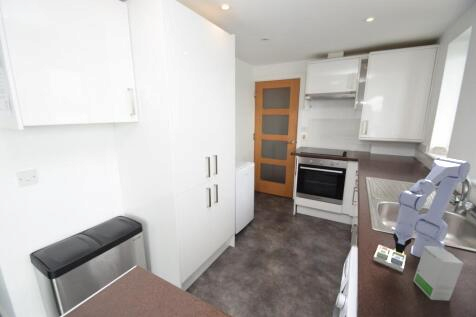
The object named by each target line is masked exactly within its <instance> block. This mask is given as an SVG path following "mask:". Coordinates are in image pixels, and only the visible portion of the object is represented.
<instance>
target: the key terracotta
mask: <svg viewBox="0 0 476 317" xmlns="http://www.w3.org/2000/svg"><path fill="white" fill-rule="evenodd" d="M380 245H381V244H380ZM380 249H383V250H385V251H388V253H389V249H391V248H389V247H387V246H384V245H383V244H382V245H381V247H380Z"/></svg>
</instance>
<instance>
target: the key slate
mask: <svg viewBox="0 0 476 317" xmlns="http://www.w3.org/2000/svg"><path fill="white" fill-rule="evenodd" d="M402 260H403V257H401V256H398V255H396V254H393V257H392V262H393V263H395V264H397V265H400V266H401V264H402Z"/></svg>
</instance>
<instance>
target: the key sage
mask: <svg viewBox="0 0 476 317" xmlns="http://www.w3.org/2000/svg"><path fill="white" fill-rule="evenodd" d="M387 255H388V251H385V250H383V249H380V248H379V251H378V255H377V256H378V257H380V258H383V259H385V260H386V259H387Z"/></svg>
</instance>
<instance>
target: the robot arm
mask: <svg viewBox="0 0 476 317" xmlns="http://www.w3.org/2000/svg"><path fill="white" fill-rule="evenodd" d="M470 170H471V164H470V162H469V161H468V160H461V159H460V160H459V159H456V158H455V159H454V158H448V157H443V156H437V157H435V159H433V161H432V164H431V171H430V172H429V173H428V175H427V176H426V177H424V178H423V179H419V180H417V182H415V184H413V186H412V187H411V188H409V189H408V190H404V191H402V192H401V193H400V194H399V196H398V199H397V202H398V205H397V206H398V208H399V211H398V214H397V218H396V222H395V223H396V224H395V227H394V226H392V227H391V228H390V229H391V231H393V232H394V233H393V235H392V237H393V239H394V243H395V244H394V246H395V247H394V250H396V252H398V253H401V254H402V253H403V252H404V253H405V250H406V248H407V246H409V245H410V244H412V239H413V237H414V235H415V239H414V243H413V245H411V249H410V255H413V256H414V257H417V258H420V259H421V255H422V252H423V249H424V246H435V247H442V248H444V249H445V241H444V240H445V239H446V236H447V235H448V229H449V225H448V224H447V223H446V221H444V219H443V217H444V215H445V213H446V210H447V208H448V206H449V204H450V202H451V199H452V197H453V195H454V192H455V189H456V187H457V186H458V184H459V183H464V182H465V180H466V179H467V177H468V174H469V173H470ZM439 182H440V183H439ZM438 183H439V186H438V188H437V190H436V185H438ZM435 190H436V192H435V194H434V197H433V199H432V201H431V203H430V206H429V209H428V211H427V213H424V214H423V213H422V214H419V213H420V211H421V210H422V209H423V208H424V207H425V204H426V202H427V201H428V199H427V198H428V197H430V195H432V193H433V192H434V191H435ZM414 231H415V232H414Z"/></svg>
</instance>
